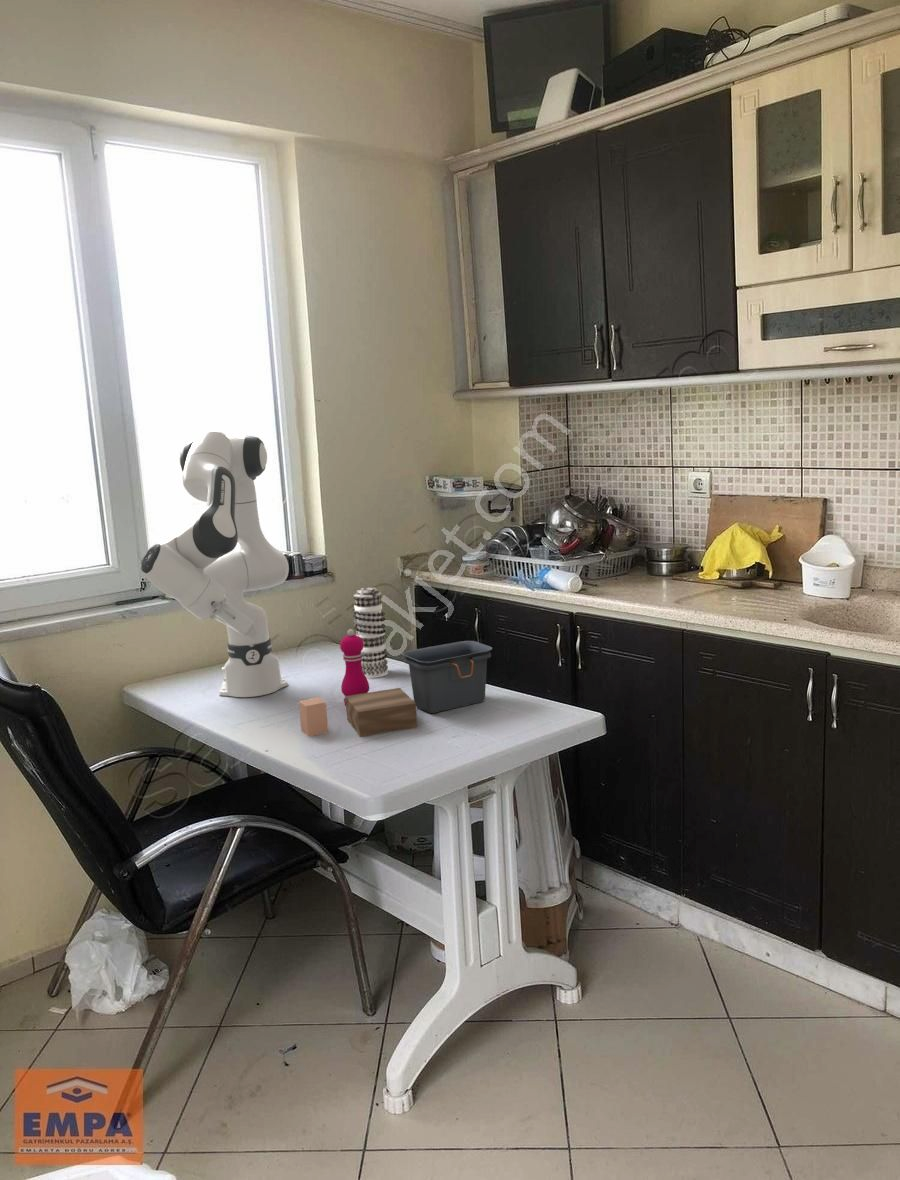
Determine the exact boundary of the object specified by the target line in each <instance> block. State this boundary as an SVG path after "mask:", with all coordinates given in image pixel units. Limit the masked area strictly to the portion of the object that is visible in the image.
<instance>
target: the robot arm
mask: <svg viewBox="0 0 900 1180" xmlns="http://www.w3.org/2000/svg"><path fill="white" fill-rule="evenodd" d="M267 462H268V454H267V449H266V447H265V443H264V442H263V441H262V439H261V438H259V437H258V436H252V435H245V436H242V435H226V434H225V433H223V432H221V431H219V430H214V429H209V430H204V431H202V432H200V433H199V434H198V435H196V437H195V438H192V439H189V440H186V441H185V442H184V443H183V444H182V446H181V447H180V450H179V465H180V467H181V471H182V484H183V487H184V489H185V490H186V491H187V493H188V495H190V496H191V497H193V498H194V499H195V500H197V501H201V502H205V503H206V508H205V510H204V512H203V513H201V514H200V515H199V516H198V518H196V519H195V520H194V521H192V523H190V524H189V525H188V526H187V527H185V528H184V529H182V530H181V531H179V532H178V533H176V534H175V535H174V536H173V537H171V538H170V539H167V540H166V541H163V542H156V543H154V544H153V545H152V546H150V548H149V549H147V551H146V553H145V555H144V556H143V558H142V560H141V566H140V569H141V573H142V574H143V576H144V577H145V578H146V579H147V581H149V582H150V583H151V584H152V585H153V586H154V587H155V588H156V589H158V590H159V591H160V592H162V593H163V594H164V595H166V596H167V597H169V598H172V599H173V600H176V601H177V602H178V603H179V605H180V606H181V607H182V608H184V609H185V610H186V611H187V612H189V613H191V615H193V616H194V617H195V618H197V619H198V620H199V621H203V620H206V619H208V620H210V621H212V620H215V621H217V622H219V623H221V624H223V625H224V626H226V631H227V639H228V642H227V648H226V652H227V656H228V660H227V661H226V662H225V664H224V666H222V667H221V674H222V676H224V678H223V681H222V684H221V686H220V689H219V691H218V692H219V694H220V695H219V696H226V697H227V696H228V697H235V698H252V697H259V696H264V695H268V694H271V693H272V694H273V693H275V692H277V691H278V690H280V689H282V688H284V687H288V686H289V684H288V681H287V680H286V679H284V678H283V677H281V669H280V661H279V658H278V657H277V655H275V654H274V653H272V652H273V643H272V639H271V637H270V633H269V624H268V623H269V622H268V615H267V612H266V611H265V609H264V608H263V607H261V606H259V605H257V604H255V603H253V602H249V601H246V598H244V593H246V592H253V591H259V590H266V589H271V588H273V587H276V586H279V585H282V584H284V583H285V582H286V580H287V578H288V576H289V572H290V571H289V570H290V568H289V561H288V559H287V557H286V556H285V554H284V553H283V552H282V551H280V550H279V549H278V548H276V547H274V546H273V545H272V544H271V543H270V542H269V540H267V538H266V537H265V534H263V531H262V528H261V523H260V518H259V512H258V511H259V510H258V501H257V492H256V487H255V482H254V481H255V480H256V479H257V477H259V476H260V475H262V474H263V473H264V471H265V470H266V466H267ZM238 544H239V546H240V551H237V552H233V551H234V549H235V548H236V547H237V545H238Z"/></svg>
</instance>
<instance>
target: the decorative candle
mask: <svg viewBox="0 0 900 1180" xmlns="http://www.w3.org/2000/svg"><path fill="white" fill-rule="evenodd" d="M353 597H354V606H353V607H354V608H352V617H353V618H354V620H353V624H354V628H353V630H356V631H355V632H354V635H357V636H359V637H360V638H361V639H362V640H363V644H364V647H363V649H362V651H361V653H362V657H363V658H362V659H361V666H362V670H363V672H364V675H365V676H366V678H367V679H377V678H382V677H385V676H387V675H388V674H389V666H388V660H387V658H388V655H387V654H386V653H387V651H388V650H387V649H386V643H385V636H384V635H386V629H385V627H386V624H384V623H383V622H384V621H386V618H385V614H386V613H385V612H384V611H383V603H382V592H381V591H379V589H378V588H376V587H374V586H373V587H372V586H371V587H369V586H368V587H362V588H359V589H357V590H356V592H355V593H354V594H353Z"/></svg>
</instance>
